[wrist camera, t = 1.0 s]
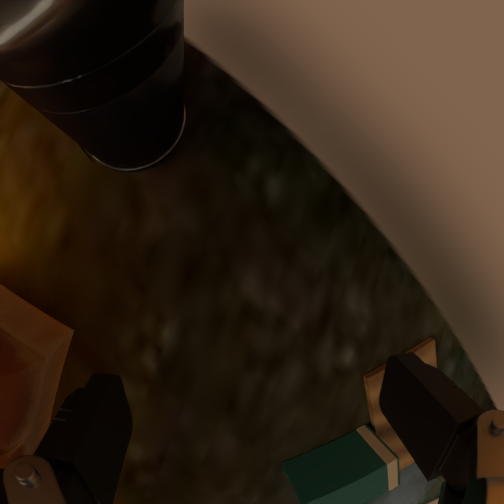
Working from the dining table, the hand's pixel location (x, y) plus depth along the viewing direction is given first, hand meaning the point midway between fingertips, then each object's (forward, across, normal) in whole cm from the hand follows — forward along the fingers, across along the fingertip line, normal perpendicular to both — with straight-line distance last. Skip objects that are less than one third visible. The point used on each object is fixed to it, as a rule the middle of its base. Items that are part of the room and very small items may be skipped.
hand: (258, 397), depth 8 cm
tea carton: (+13, -11, +24) cm, 30 cm away
